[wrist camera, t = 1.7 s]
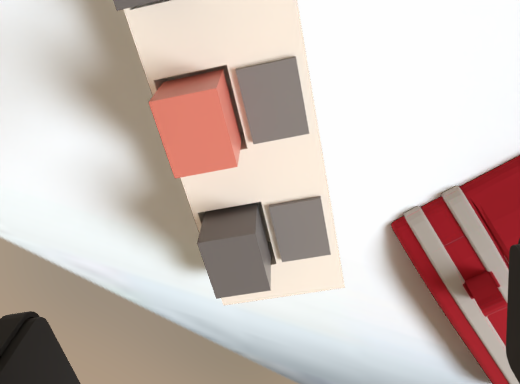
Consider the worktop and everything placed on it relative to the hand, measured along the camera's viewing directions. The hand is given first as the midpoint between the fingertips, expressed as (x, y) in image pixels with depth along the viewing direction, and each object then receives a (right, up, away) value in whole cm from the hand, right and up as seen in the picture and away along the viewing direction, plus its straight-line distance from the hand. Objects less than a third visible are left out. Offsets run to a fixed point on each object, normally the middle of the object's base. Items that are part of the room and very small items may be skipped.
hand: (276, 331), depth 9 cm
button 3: (-2, 0, +19) cm, 19 cm away
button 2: (-3, +7, +15) cm, 17 cm away
